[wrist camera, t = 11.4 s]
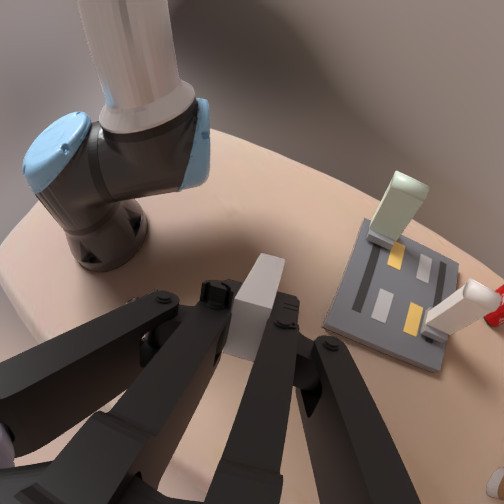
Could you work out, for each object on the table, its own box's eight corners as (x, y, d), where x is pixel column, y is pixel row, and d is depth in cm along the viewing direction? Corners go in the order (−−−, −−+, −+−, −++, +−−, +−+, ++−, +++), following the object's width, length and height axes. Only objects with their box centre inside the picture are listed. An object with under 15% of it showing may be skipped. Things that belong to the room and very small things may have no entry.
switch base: (433, 372, 36) (440, 370, 34) (322, 326, 41) (325, 322, 39) (453, 268, 45) (459, 263, 43) (361, 224, 50) (364, 217, 48)
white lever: (443, 343, 36) (499, 313, 24) (418, 332, 37) (472, 299, 25) (448, 320, 38) (501, 285, 26) (424, 309, 39) (474, 269, 27)
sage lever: (391, 250, 44) (428, 198, 32) (364, 238, 45) (394, 182, 33) (395, 232, 46) (429, 179, 34) (369, 220, 47) (398, 163, 35)
